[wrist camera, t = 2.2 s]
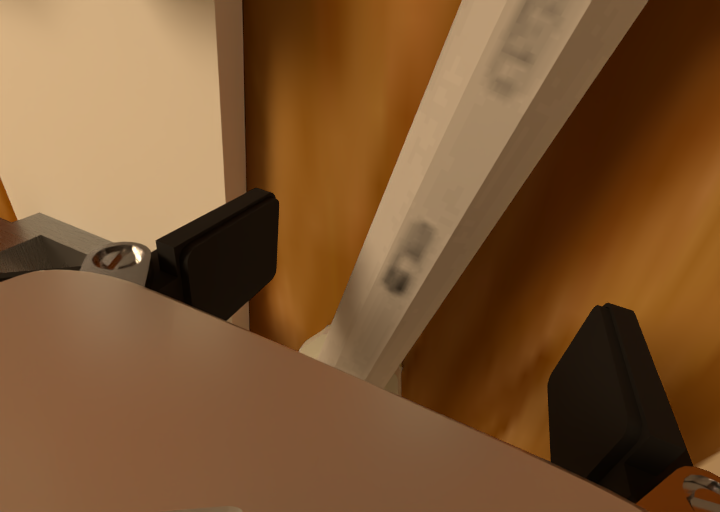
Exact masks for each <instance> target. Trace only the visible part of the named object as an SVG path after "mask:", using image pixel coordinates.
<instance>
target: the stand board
mask: <svg viewBox="0 0 720 512" xmlns="http://www.w3.org/2000/svg"><path fill="white" fill-rule="evenodd" d="M0 177H1V180H2V182H3V185H4V187H5V190H6V192H7V194H8V197H9V199H10V202H11V204H12V207H13V209H14V212H15V214H16V217H17V219H18V220H20V219H23V218H26V217H28V216H31V215H34V214H37V213H39V212H40V213H42V214H45V215H47V216H50V217H52V218H55V219H57V220H60V221H62V222H64V223H67V224H69V225H72V226H74V227H77V228H79V229H82V230H84V231H87V232H89V233H92V234H94V235H97V236H99V237H102V238H104V239H106V240H109V241H111V242H114V243H115V242H135V243H140V244H143V245H145V246H147V247H148V248H149V249H150V251H151V252H152V251H154V250H156V249H157V247H156V241H155V240H157V239H159V238H161V237H163V236H165V235H167V234H168V233H170V232H172V231H174V230H176V229H178V228H180V227H182V226H184V225H186V224H187V223H189V222H191V221H193V220H195V219H197V218H199V217H201V216H203V215H205V214H207V213H208V212H210V211H212V210H214V209H216V208H218V207H220V206H222V205H224V204H226V203H227V202H229V201H231V200H233V199H235V198H237V197H239V196H241V195H243V194H245V193H246V153H245V107H244V61H243V15H242V0H0ZM227 322H230V323H232V324H234V325H237V326H239V327H241V328H244V329H246V330H249V301H248V302H247V303H246V304H245V305H243V306H242V307H241V308H240V309H239V310H238V311H237V312H236V313H235V314H234V315H232V316H231V317H230V318H229V319H228V320H227Z"/></svg>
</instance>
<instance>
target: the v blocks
mask: <svg viewBox="0 0 720 512" xmlns="http://www.w3.org/2000/svg"><path fill="white" fill-rule="evenodd" d="M110 243H114V242H111V241H109V240H106V239H104V238H102V237H99V236H97V235H94V234H92V233H89V232H87V231H84V230H82V229H79V228H77V227H74V226H72V225H69V224H67V223H64V222H62V221H60V220H57V219H55V218H52V217H50V216H47V215H45V214H42V213H40V212H39V213H37V214H34V215H31V216H28V217H26V218H23V219H20V220H18V221H15V222H12V223H11V222H9V221H7V220H4V219H2V218H0V273H7V272H19V271H30V270H41V269H53V268H64V267H75V266H82V264H83V262H84V259H85V258H86V256H87V255H88V254H89V253H90V252H91V251H93V250H94V249H96V248H98V247H100V246H103V245H106V244H110Z"/></svg>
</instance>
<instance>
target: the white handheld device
mask: <svg viewBox="0 0 720 512" xmlns="http://www.w3.org/2000/svg"><path fill="white" fill-rule="evenodd" d="M647 2H648V0H462V2H461V4H460V7H459V9H458V12H457V14H456V17H455V19H454V22H453V24H452V27H451V29H450V32H449V34H448V37H447V39H446V41H445V44H444V46H443V49H442V51H441V54H440V56H439V59H438V61H437V64H436V66H435V69H434V71H433V74H432V76H431V79H430V81H429V84H428V86H427V89H426V91H425V94H424V96H423V98H422V101H421V103H420V106H419V108H418V111H417V113H416V116H415V118H414V121H413V123H412V126H411V128H410V131H409V133H408V136H407V138H406V141H405V143H404V146H403V148H402V151H401V153H400V155H399V158H398V160H397V163H396V165H395V168H394V170H393V173H392V175H391V178H390V180H389V183H388V185H387V188H386V190H385V193H384V195H383V198H382V200H381V203H380V205H379V207H378V210H377V212H376V215H375V217H374V220H373V222H372V225H371V227H370V230H369V232H368V235H367V237H366V240H365V242H364V245H363V247H362V250H361V252H360V255H359V257H358V260H357V262H356V264H355V267H354V269H353V272H352V274H351V277H350V279H349V282H348V284H347V287H346V289H345V292H344V294H343V297H342V299H341V302H340V304H339V307H338V309H337V312H336V314H335V317H334V319H333V321H332V324H331V325H327V326H326V328H325V329H324V330H322V331H321V332H319V333H318V334H316V335H314V336H313V337H311V338H310V339H308V340H307V341H306V342H305V343H304V344H303V345H302V347H301V348H300V349H299V352H300V353H302V354H305V355H307V356H309V357H312V358H314V359H316V360H319V361H321V362H323V363H325V364H328V365H330V366H332V367H335V368H337V369H339V370H342V371H344V372H346V373H349V374H351V375H353V376H356V377H358V378H360V379H362V380H365V381H367V382H369V383H372V384H374V385H376V386H379V387H381V388H383V389H385V390H388V391H390V392H392V393H395V394H397V395H399V396H401V372H402V370H403V367H402V361H403V359H404V358H405V356H406V355H407V354H408V352H409V351H410V349H411V348H412V346H413V345H414V343H415V342H416V340H417V339H418V337H419V336H420V335H421V333H422V332H423V330H424V329H425V327H426V326H427V324H428V323H429V321H430V320H431V318H432V317H433V315H434V314H435V313H436V311H437V310H438V308H439V307H440V305H441V304H442V302H443V301H444V299H445V298H446V296H447V295H448V293H449V292H450V291H451V289H452V288H453V286H454V285H455V283H456V282H457V280H458V279H459V277H460V276H461V274H462V273H463V272H464V270H465V269H466V267H467V266H468V264H469V263H470V261H471V260H472V258H473V257H474V255H475V254H476V252H477V251H478V250H479V248H480V247H481V245H482V244H483V242H484V241H485V239H486V238H487V236H488V235H489V233H490V232H491V230H492V229H493V228H494V226H495V225H496V223H497V222H498V220H499V219H500V217H501V216H502V214H503V213H504V211H505V210H506V209H507V207H508V206H509V204H510V203H511V201H512V200H513V198H514V197H515V195H516V194H517V192H518V191H519V189H520V188H521V187H522V185H523V184H524V182H525V181H526V179H527V178H528V176H529V175H530V173H531V172H532V170H533V169H534V167H535V166H536V165H537V163H538V162H539V160H540V159H541V157H542V156H543V154H544V153H545V151H546V150H547V148H548V147H549V146H550V144H551V143H552V141H553V140H554V138H555V137H556V135H557V134H558V132H559V131H560V129H561V128H562V126H563V125H564V124H565V122H566V121H567V119H568V118H569V116H570V115H571V113H572V112H573V110H574V109H575V107H576V106H577V104H578V103H579V102H580V100H581V99H582V97H583V96H584V94H585V93H586V91H587V90H588V88H589V87H590V85H591V84H592V83H593V81H594V80H595V78H596V77H597V75H598V74H599V72H600V71H601V69H602V68H603V66H604V65H605V63H606V62H607V61H608V59H609V58H610V56H611V55H612V53H613V52H614V50H615V49H616V47H617V46H618V44H619V43H620V41H621V40H622V39H623V37H624V36H625V34H626V33H627V31H628V30H629V28H630V27H631V25H632V24H633V22H634V21H635V20H636V18H637V17H638V15H639V14H640V12H641V11H642V9H643V8H644V6H645V5H646V3H647Z"/></svg>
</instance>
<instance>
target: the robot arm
mask: <svg viewBox="0 0 720 512" xmlns="http://www.w3.org/2000/svg"><path fill="white" fill-rule="evenodd" d="M278 219H279V201H278V200H277V199H275V195H274V194H273V193H271V192H268V191H265V190H262V189H259V188H254V189H252V190H250V191H248V192H247V193H245V194H243V195H241V196H239V197H237V198H235V199H233V200H231V201H229V202H227V203H226V204H224V205H222V206H220V207H218V208H216V209H214V210H212V211H210V212H208V213H207V214H205V215H203V216H201V217H199V218H197V219H195V220H193V221H191V222H189V223H187V224H186V225H184V226H182V227H180V228H178V229H176V230H174V231H172V232H170V233H168V234H167V235H165V236H163V237H161V238H159V239H157V240H155V241H156V247H157V249H156V250H154V251H152V252H151V251H150V249H149V248H148V247H147V246H145V245H143V244H140V243H135V242H115V243H110V244H106V245H103V246H100V247H98V248H96V249H94V250H93V251H91V252H90V253H89V254H88V255H87V256H86V258H85V259H84V262H83V264H82V266H75V267H64V268H53V269H41V270H30V271H19V272H7V273H0V512H720V477H718V476H716V475H715V474H713V473H711V472H709V471H706V470H703V469H700V468H697V467H693V464H692V462H691V459H690V456H689V454H688V451H687V448H686V446H685V443H684V441H683V438H682V435H681V433H680V430H679V428H678V425H677V422H676V420H675V417H674V414H673V412H672V409H671V407H670V404H669V401H668V399H667V396H666V393H665V391H664V388H663V386H662V383H661V380H660V378H659V376H658V373H657V370H656V368H655V365H654V363H653V360H652V357H651V355H650V352H649V349H648V347H647V344H646V341H645V339H644V336H643V334H642V331H641V328H640V326H639V323H638V320H637V318H636V315H635V313H634V311H632V310H629V309H626V308H623V307H620V306H617V305H614V304H610V303H606V304H605V305H603V307H602V306H599V305H597V306H595V307H594V308H593V309H592V311H591V312H590V314H589V316H588V317H587V319H586V320H585V322H584V323H583V325H582V327H581V328H580V330H579V331H578V333H577V334H576V336H575V337H574V339H573V341H572V342H571V344H570V345H569V347H568V348H567V350H566V352H565V353H564V355H563V356H562V358H561V359H560V361H559V363H558V364H557V366H556V367H555V369H554V370H553V372H552V374H551V375H550V378H549V381H548V409H549V431H550V453H551V462H549V461H547V460H545V459H543V458H540V457H538V456H536V455H534V454H531V453H529V452H527V451H524V450H522V449H520V448H518V447H515V446H513V445H511V444H509V443H506V442H504V441H502V440H499V439H497V438H495V437H493V436H490V435H488V434H486V433H483V432H481V431H479V430H477V429H474V428H472V427H470V426H468V425H465V424H463V423H461V422H458V421H456V420H454V419H452V418H449V417H447V416H445V415H442V414H440V413H438V412H436V411H433V410H431V409H429V408H427V407H424V406H422V405H420V404H417V403H415V402H413V401H411V400H408V399H406V398H404V397H402V396H399V395H397V394H395V393H392V392H390V391H388V390H385V389H383V388H381V387H379V386H376V385H374V384H372V383H369V382H367V381H365V380H362V379H360V378H358V377H356V376H353V375H351V374H349V373H346V372H344V371H342V370H339V369H337V368H335V367H332V366H330V365H328V364H325V363H323V362H321V361H319V360H316V359H314V358H312V357H309V356H307V355H305V354H302V353H300V352H298V351H295V350H293V349H291V348H288V347H286V346H284V345H281V344H279V343H277V342H274V341H272V340H270V339H267V338H265V337H263V336H260V335H258V334H256V333H253V332H251V331H249V330H246V329H244V328H241V327H239V326H237V325H234V324H232V323H230V322H227V320H228V319H229V318H230V317H231V316H232V315H234V314H235V313H236V312H237V311H238V310H239V309H240V308H241V307H242V306H243V305H245V304H246V303H247V302H248V301H249V300H250V299H251V298H252V297H253V296H254V295H256V294H257V293H258V292H259V291H260V290H261V289H262V288H263V287H264V286H265V285H267V284H268V283H269V282H270V281H271V280H272V279H273V277H274V275H275V273H276V266H277V242H278Z"/></svg>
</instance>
